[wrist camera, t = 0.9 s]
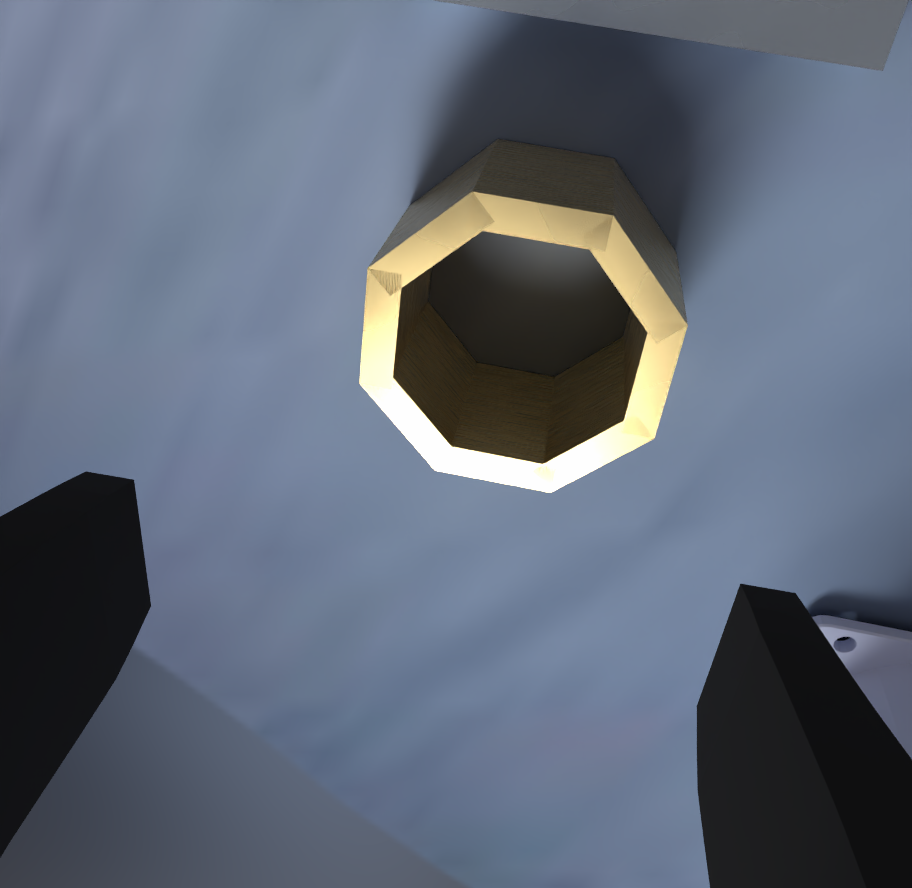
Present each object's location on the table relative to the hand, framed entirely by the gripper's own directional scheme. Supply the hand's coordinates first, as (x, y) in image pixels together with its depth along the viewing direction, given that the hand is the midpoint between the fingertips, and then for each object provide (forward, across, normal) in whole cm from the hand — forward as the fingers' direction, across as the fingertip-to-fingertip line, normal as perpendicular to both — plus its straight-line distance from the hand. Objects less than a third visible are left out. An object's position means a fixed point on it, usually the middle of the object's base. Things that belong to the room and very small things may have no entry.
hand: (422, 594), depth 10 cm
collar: (+9, 0, 0) cm, 9 cm away
